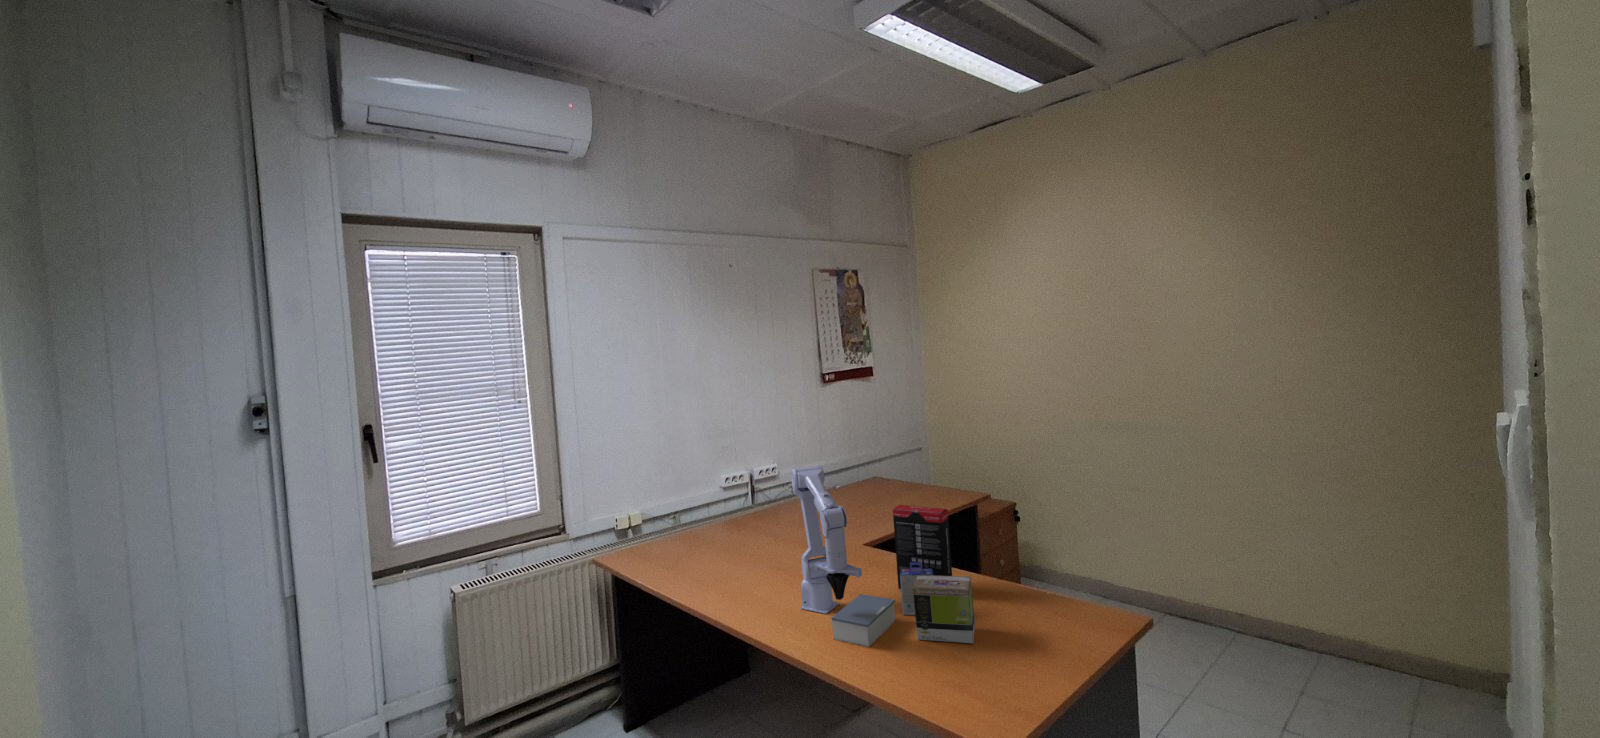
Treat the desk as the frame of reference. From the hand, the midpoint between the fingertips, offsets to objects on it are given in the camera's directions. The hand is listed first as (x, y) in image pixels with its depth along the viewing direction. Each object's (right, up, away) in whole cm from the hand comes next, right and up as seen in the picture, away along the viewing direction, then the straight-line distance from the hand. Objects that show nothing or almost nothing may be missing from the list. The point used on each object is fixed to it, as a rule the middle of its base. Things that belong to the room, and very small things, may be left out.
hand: (839, 598), depth 170 cm
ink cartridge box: (+25, -8, +11) cm, 28 cm away
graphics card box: (+30, -7, +25) cm, 40 cm away
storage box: (+7, -10, +2) cm, 12 cm away
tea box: (+29, -8, -4) cm, 31 cm away
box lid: (+7, -4, +2) cm, 8 cm away
